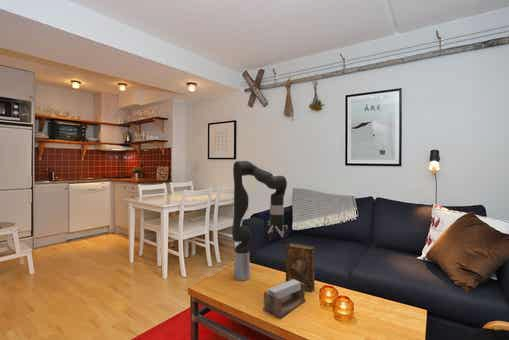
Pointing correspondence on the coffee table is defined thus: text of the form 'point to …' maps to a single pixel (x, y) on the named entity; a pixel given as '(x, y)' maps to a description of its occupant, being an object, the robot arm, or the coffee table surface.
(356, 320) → the coffee table surface
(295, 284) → the grey rectangular bar
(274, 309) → the shelf frame
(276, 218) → the robot arm
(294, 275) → the book
